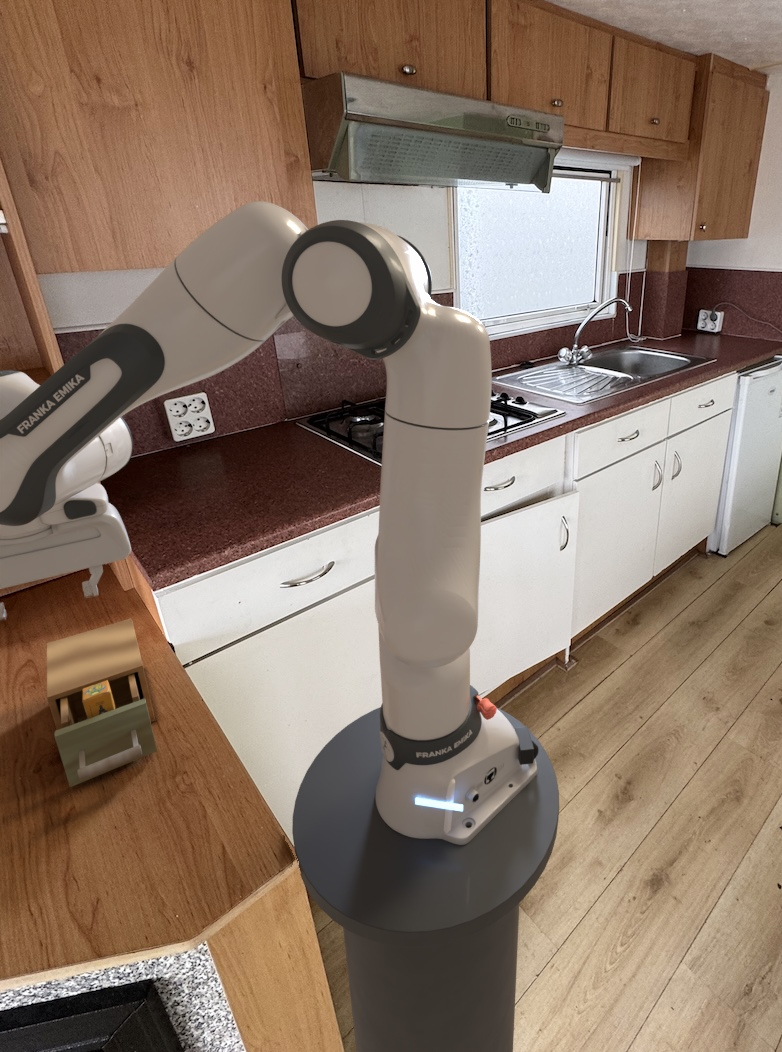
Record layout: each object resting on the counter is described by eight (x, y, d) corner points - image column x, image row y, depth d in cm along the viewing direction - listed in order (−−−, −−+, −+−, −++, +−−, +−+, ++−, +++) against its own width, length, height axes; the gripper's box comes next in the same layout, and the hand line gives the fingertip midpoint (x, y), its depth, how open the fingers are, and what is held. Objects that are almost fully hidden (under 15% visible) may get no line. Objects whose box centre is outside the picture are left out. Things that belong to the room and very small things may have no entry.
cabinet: (155, 720, 91) (142, 665, 87) (64, 755, 84) (46, 697, 80) (143, 669, 102) (131, 618, 98) (62, 696, 95) (46, 643, 91)
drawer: (162, 774, 80) (151, 724, 77) (71, 814, 74) (55, 762, 72) (145, 696, 94) (134, 651, 91) (67, 724, 88) (53, 678, 85)
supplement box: (123, 732, 86) (109, 677, 82) (125, 748, 83) (111, 692, 80) (97, 742, 84) (81, 687, 81) (97, 758, 81) (81, 702, 78)
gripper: (-110, 541, 60) (-68, 650, 65) (120, 497, 72) (141, 593, 76) (-98, 519, 65) (-60, 622, 70) (116, 481, 77) (136, 572, 81)
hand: (47, 607), depth 73 cm, fingers open, 8 cm apart
